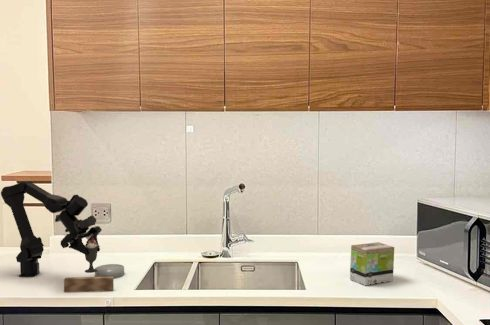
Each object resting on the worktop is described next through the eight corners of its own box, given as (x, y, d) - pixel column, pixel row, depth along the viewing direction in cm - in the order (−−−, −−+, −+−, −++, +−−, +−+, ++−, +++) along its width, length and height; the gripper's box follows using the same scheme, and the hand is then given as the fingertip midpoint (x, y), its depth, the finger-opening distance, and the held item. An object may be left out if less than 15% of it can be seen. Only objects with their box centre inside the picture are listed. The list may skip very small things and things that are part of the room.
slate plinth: (92, 279, 196) (91, 272, 196) (98, 271, 208) (98, 264, 208) (121, 278, 197) (121, 271, 197) (126, 270, 209) (126, 263, 209)
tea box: (365, 286, 189) (366, 250, 188) (349, 279, 198) (350, 244, 197) (394, 281, 196) (394, 246, 195) (376, 275, 204) (377, 241, 204)
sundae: (94, 274, 186) (94, 236, 185) (79, 272, 187) (78, 235, 187) (103, 269, 193) (102, 232, 192) (87, 268, 194) (87, 231, 193)
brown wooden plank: (64, 292, 180) (63, 279, 180) (65, 290, 182) (65, 277, 182) (112, 290, 182) (112, 278, 182) (113, 289, 184) (113, 276, 184)
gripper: (66, 213, 181) (89, 245, 178) (97, 206, 199) (120, 235, 195) (50, 232, 185) (73, 263, 181) (82, 223, 202) (104, 252, 199)
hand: (93, 252), depth 189 cm, fingers closed on sundae, 6 cm apart
